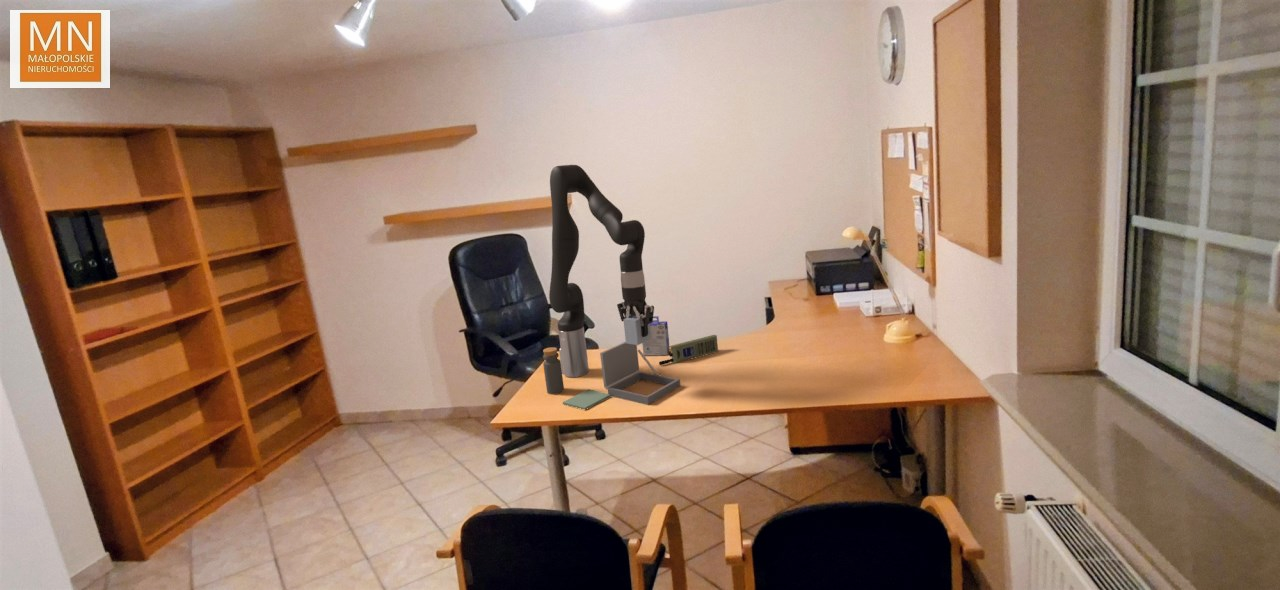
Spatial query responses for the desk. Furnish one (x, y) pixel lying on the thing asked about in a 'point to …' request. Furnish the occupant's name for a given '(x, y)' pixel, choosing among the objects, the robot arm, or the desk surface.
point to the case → (631, 374)
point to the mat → (586, 399)
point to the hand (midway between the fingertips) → (638, 335)
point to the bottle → (553, 371)
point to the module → (635, 331)
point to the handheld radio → (692, 349)
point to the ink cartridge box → (657, 339)
